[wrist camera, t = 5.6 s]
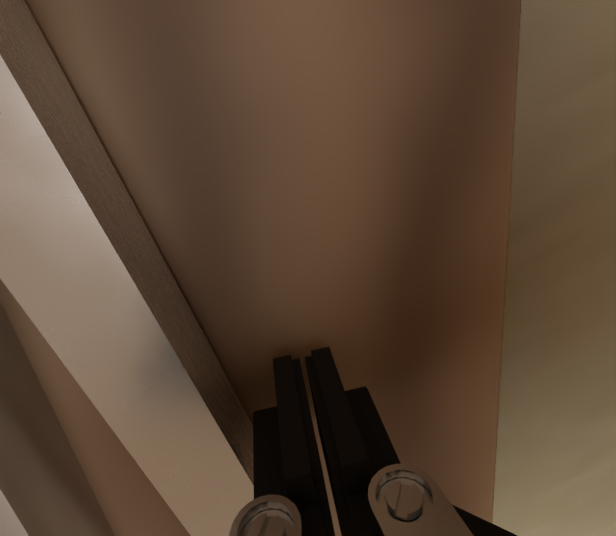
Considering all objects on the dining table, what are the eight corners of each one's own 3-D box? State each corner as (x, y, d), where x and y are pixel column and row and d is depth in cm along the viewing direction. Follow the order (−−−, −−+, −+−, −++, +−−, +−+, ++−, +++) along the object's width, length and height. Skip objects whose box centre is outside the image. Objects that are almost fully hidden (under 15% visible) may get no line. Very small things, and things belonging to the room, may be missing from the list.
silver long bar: (-8, -95, 7) (-166, -236, 4) (337, 565, 14) (358, 662, 12) (-151, -45, 7) (-405, -156, 4) (273, 592, 14) (280, 695, 12)
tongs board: (489, -233, 9) (681, -512, 5) (469, 576, 19) (524, 683, 15) (-467, -181, 7) (-1354, -568, 3) (98, 684, 17) (59, 837, 14)
